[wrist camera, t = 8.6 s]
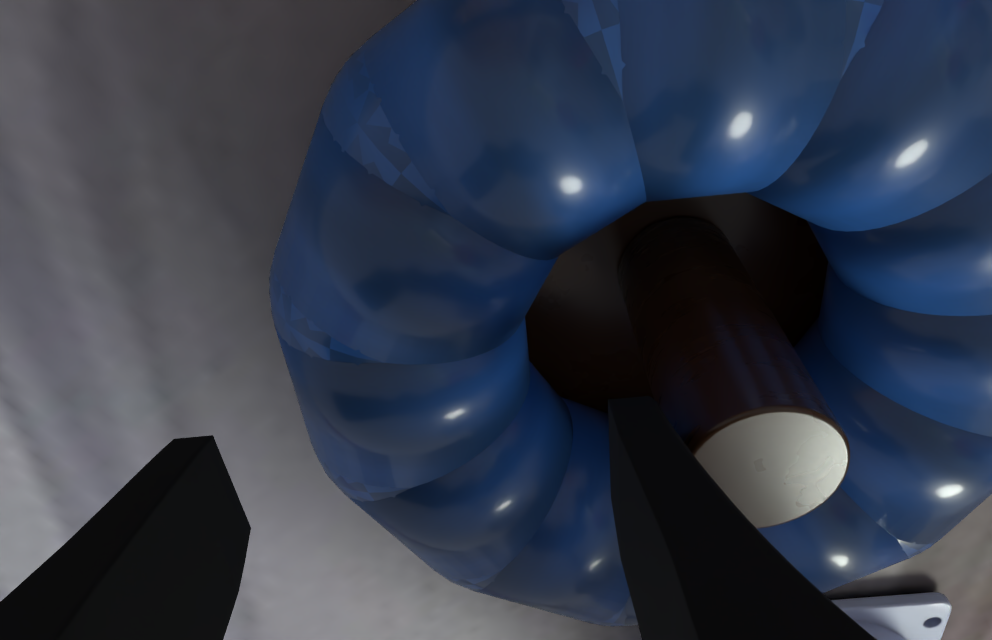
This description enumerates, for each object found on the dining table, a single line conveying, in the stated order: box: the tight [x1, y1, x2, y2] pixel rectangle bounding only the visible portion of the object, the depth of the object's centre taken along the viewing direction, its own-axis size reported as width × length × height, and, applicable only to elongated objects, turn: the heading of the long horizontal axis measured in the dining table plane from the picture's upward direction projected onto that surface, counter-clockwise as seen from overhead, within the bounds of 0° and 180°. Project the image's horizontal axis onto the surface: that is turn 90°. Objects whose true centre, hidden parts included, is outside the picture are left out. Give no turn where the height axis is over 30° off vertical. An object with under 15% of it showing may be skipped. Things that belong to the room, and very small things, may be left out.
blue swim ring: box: [269, 0, 992, 626], centre depth 14 cm, size 14×14×4 cm
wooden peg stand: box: [525, 192, 850, 529], centre depth 14 cm, size 10×10×7 cm
